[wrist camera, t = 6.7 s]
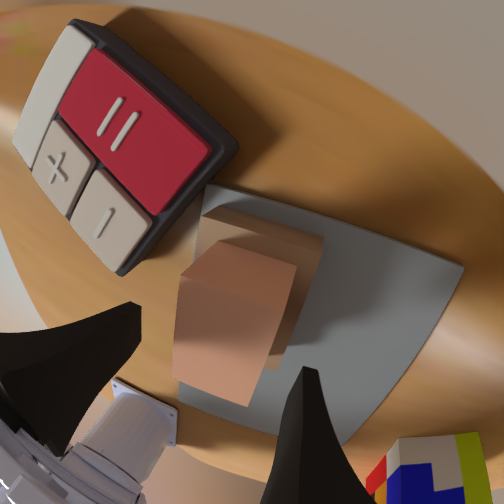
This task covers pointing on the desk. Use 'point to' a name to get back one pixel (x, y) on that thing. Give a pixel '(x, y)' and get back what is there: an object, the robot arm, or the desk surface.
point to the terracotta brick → (228, 319)
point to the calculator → (116, 144)
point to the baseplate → (341, 318)
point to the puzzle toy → (432, 472)
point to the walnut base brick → (272, 245)
